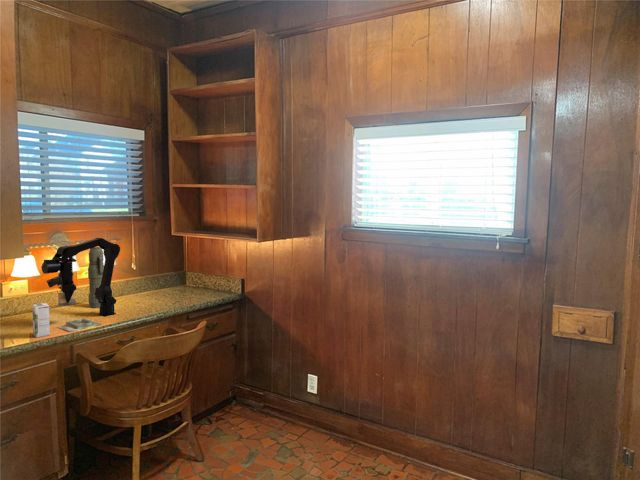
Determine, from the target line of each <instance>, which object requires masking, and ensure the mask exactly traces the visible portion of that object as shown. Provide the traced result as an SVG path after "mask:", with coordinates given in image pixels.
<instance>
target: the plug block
mask: <svg viewBox="0 0 640 480" xmlns="http://www.w3.org/2000/svg"><path fill="white" fill-rule="evenodd" d="M57 297H58V298H57V299H58V301H57V302H58V304H57V305H58V307H64V306H65V307H66V306H76V292H75V291H74V293H73V295H72V297H71V299H70V301H69V303H67V302H66V298H65V294H64V292H58V293H57Z"/></svg>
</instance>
